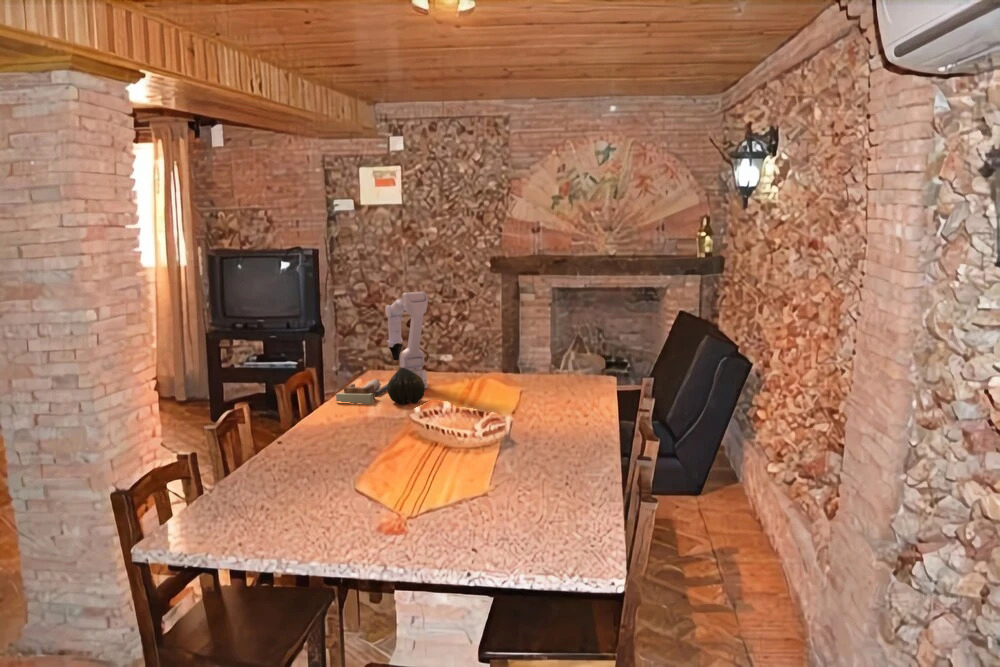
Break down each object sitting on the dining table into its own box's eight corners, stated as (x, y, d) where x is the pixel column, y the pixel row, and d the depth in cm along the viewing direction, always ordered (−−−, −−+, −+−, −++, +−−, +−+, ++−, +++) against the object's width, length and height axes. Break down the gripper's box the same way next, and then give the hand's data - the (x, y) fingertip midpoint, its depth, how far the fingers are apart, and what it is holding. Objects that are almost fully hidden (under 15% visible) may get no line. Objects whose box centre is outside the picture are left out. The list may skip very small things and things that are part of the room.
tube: (368, 380, 343) (351, 392, 319) (379, 376, 343) (363, 388, 318) (372, 391, 344) (356, 404, 319) (383, 387, 343) (368, 399, 318)
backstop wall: (373, 402, 315) (372, 393, 315) (370, 404, 313) (370, 394, 312) (339, 402, 319) (338, 392, 318) (336, 403, 316) (336, 394, 316)
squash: (417, 395, 303) (421, 362, 311) (380, 396, 306) (385, 363, 314) (425, 411, 315) (429, 379, 323) (390, 412, 317) (395, 381, 326)
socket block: (374, 398, 324) (373, 384, 323) (367, 402, 316) (366, 388, 315) (352, 397, 326) (351, 384, 325) (344, 402, 318) (343, 388, 317)
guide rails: (397, 384, 351) (397, 379, 351) (378, 396, 327) (378, 391, 327) (376, 383, 353) (375, 379, 353) (355, 395, 330) (355, 391, 329)
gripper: (391, 328, 359) (393, 357, 361) (381, 333, 345) (382, 362, 347) (406, 328, 358) (407, 357, 360) (396, 333, 344) (397, 363, 346)
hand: (396, 360), depth 353 cm, fingers closed
